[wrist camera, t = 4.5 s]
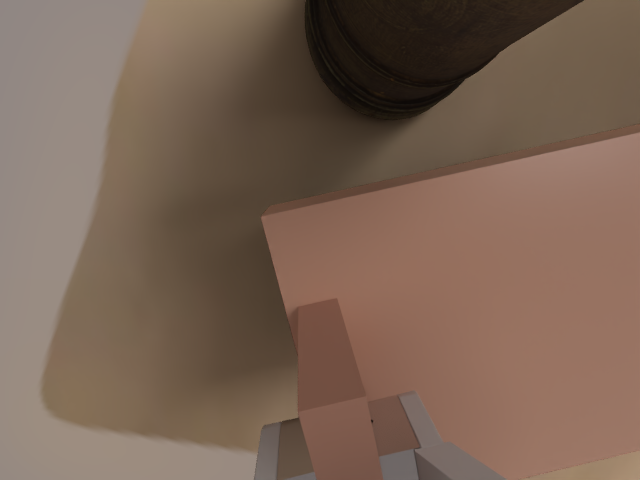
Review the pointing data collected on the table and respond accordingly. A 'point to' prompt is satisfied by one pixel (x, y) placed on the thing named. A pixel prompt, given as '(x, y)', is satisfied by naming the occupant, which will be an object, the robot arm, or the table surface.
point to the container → (413, 46)
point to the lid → (472, 306)
